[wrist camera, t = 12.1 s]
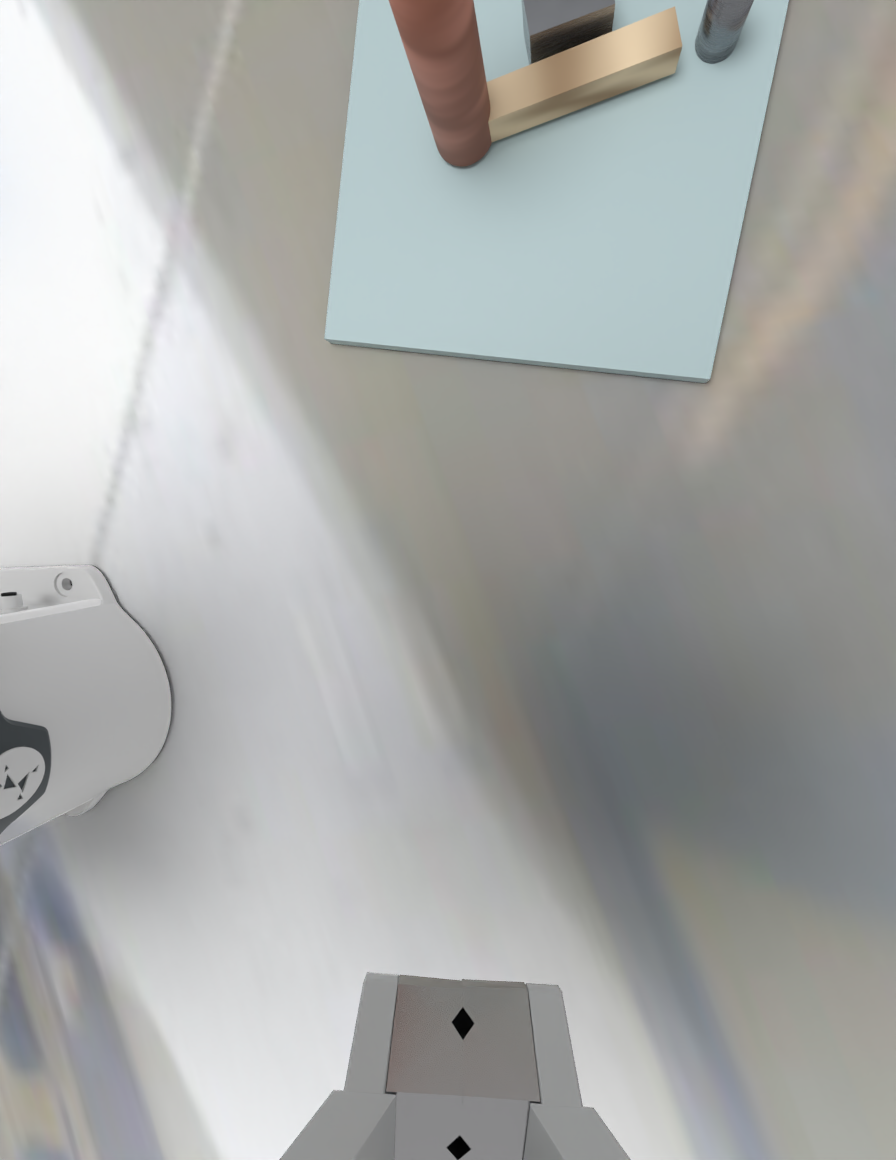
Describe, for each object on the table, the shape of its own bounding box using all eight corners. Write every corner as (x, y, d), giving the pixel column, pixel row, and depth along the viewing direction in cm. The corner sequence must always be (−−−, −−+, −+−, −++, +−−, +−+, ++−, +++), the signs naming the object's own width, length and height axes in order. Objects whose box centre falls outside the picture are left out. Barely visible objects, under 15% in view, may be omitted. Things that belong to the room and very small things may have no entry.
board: (330, 343, 35) (324, 338, 34) (374, -72, 31) (368, -90, 30) (705, 383, 31) (710, 379, 30) (800, -80, 28) (810, -101, 27)
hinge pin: (686, 78, 29) (709, 3, 25) (694, 34, 29) (719, -49, 25) (726, 78, 29) (757, 3, 25) (735, 35, 29) (767, -50, 24)
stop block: (532, 81, 30) (529, 35, 27) (523, 33, 30) (520, -18, 27) (609, 53, 29) (615, 3, 26) (601, 4, 29) (606, -53, 26)
